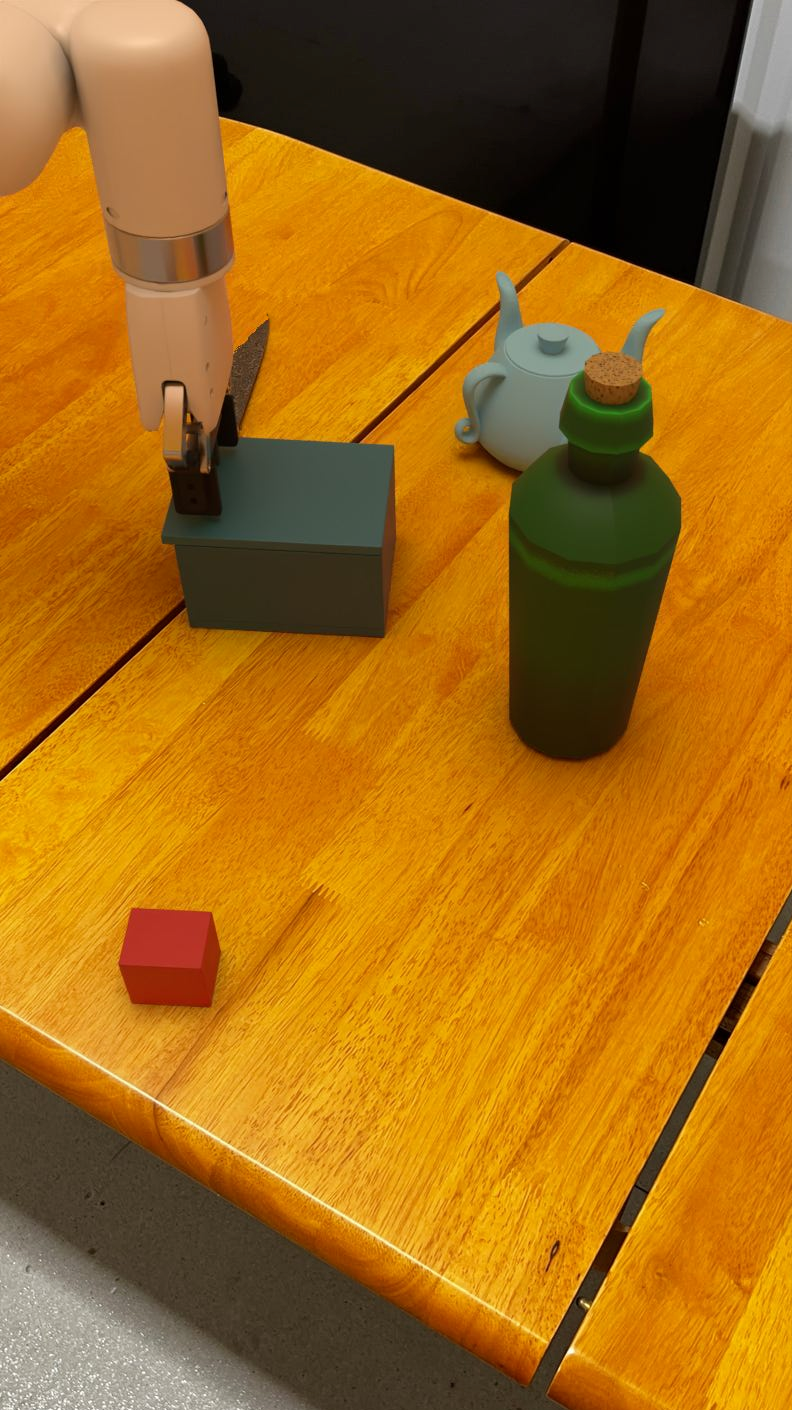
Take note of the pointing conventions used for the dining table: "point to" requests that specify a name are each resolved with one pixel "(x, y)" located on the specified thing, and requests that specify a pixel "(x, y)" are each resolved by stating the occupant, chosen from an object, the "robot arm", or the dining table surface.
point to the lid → (292, 497)
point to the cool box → (289, 587)
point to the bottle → (588, 564)
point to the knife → (247, 368)
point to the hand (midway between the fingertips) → (208, 475)
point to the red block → (170, 957)
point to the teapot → (530, 381)
